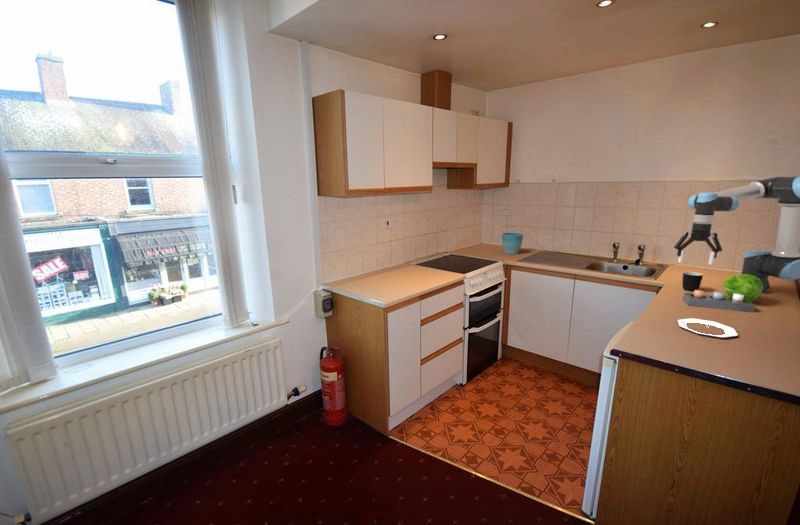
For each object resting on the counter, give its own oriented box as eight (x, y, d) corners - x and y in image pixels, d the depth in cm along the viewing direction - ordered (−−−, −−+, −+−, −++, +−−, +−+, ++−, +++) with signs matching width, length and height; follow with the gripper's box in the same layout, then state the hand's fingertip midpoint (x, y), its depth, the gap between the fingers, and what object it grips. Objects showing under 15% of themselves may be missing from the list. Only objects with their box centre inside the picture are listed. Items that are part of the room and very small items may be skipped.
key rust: (701, 297, 193) (702, 290, 192) (704, 299, 190) (705, 292, 189) (692, 296, 195) (693, 289, 194) (694, 298, 191) (695, 291, 190)
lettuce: (713, 290, 212) (748, 297, 205) (725, 301, 192) (764, 310, 185) (723, 266, 207) (759, 272, 201) (735, 275, 188) (776, 283, 181)
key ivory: (740, 301, 187) (742, 293, 186) (743, 303, 183) (745, 296, 182) (730, 300, 188) (731, 292, 187) (733, 302, 185) (735, 295, 184)
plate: (741, 343, 148) (741, 340, 147) (680, 333, 158) (680, 330, 157) (730, 327, 164) (731, 323, 163) (675, 318, 174) (676, 315, 174)
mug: (701, 293, 210) (704, 276, 208) (682, 291, 214) (685, 274, 212) (696, 287, 220) (699, 271, 218) (678, 285, 224) (681, 269, 222)
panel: (744, 305, 189) (745, 298, 188) (753, 312, 180) (754, 304, 179) (682, 299, 199) (683, 292, 198) (688, 305, 190) (689, 298, 189)
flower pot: (501, 254, 318) (502, 235, 315) (499, 250, 336) (500, 232, 332) (523, 255, 316) (524, 235, 312) (520, 251, 333) (521, 232, 329)
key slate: (720, 299, 190) (722, 292, 189) (723, 301, 186) (725, 294, 185) (711, 298, 192) (712, 291, 191) (713, 300, 188) (715, 293, 187)
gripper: (727, 223, 189) (719, 263, 193) (671, 221, 196) (664, 260, 201) (736, 224, 182) (727, 266, 186) (676, 222, 189) (670, 263, 194)
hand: (694, 263), depth 193 cm, fingers open, 13 cm apart
